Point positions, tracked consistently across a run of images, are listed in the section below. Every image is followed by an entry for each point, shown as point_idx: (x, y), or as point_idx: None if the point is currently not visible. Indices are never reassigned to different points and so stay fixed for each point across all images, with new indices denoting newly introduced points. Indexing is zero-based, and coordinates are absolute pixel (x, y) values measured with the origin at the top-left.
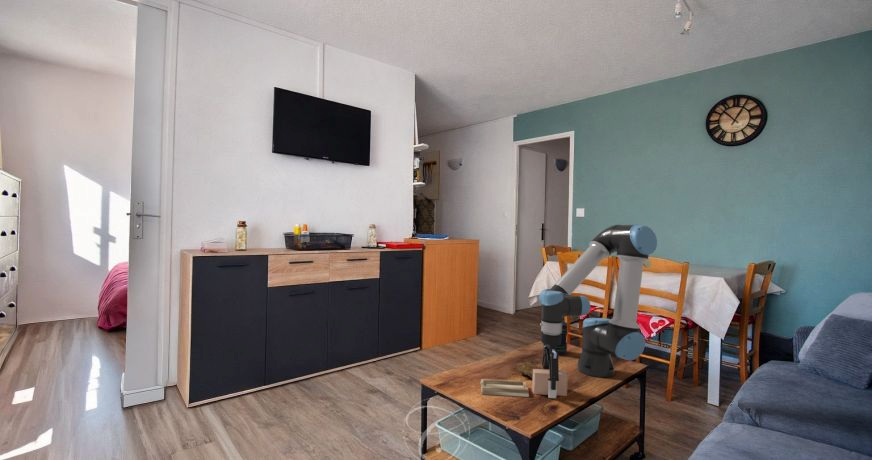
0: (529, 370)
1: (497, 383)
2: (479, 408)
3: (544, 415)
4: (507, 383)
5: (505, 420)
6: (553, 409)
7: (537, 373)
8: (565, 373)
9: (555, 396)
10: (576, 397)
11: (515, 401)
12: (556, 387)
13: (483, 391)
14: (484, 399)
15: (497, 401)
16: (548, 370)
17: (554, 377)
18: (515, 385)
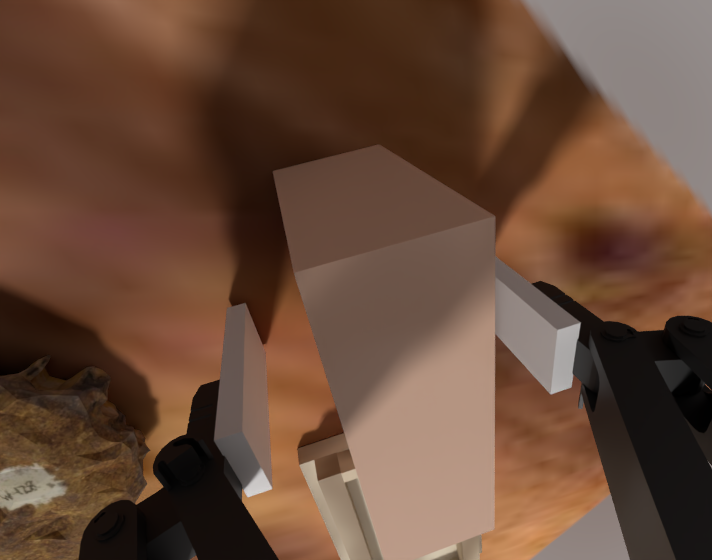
0: (53, 526)
1: (370, 551)
2: (598, 501)
3: (686, 285)
4: (360, 525)
5: None
6: (626, 245)
7: (492, 510)
8: (449, 253)
9: None
10: (392, 37)
11: (531, 428)
12: (527, 283)
13: (479, 550)
14: (522, 516)
15: (537, 480)
16: (383, 463)
17: (702, 381)
18: (359, 489)
